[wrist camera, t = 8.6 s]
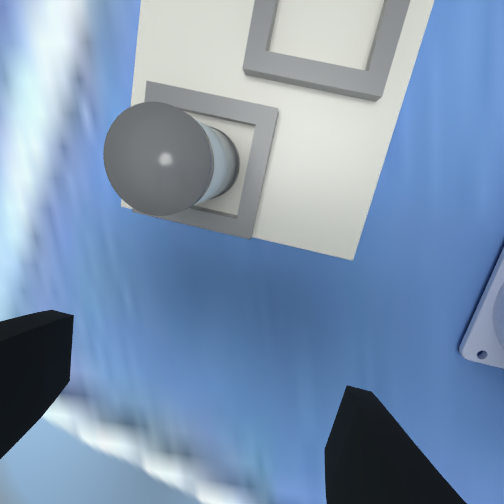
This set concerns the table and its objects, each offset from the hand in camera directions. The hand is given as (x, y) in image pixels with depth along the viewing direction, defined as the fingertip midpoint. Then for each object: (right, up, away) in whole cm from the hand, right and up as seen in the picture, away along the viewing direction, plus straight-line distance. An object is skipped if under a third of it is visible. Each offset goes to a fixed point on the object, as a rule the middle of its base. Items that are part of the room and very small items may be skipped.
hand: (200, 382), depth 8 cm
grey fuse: (-1, +8, +7) cm, 10 cm away
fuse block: (+2, +11, +7) cm, 13 cm away
